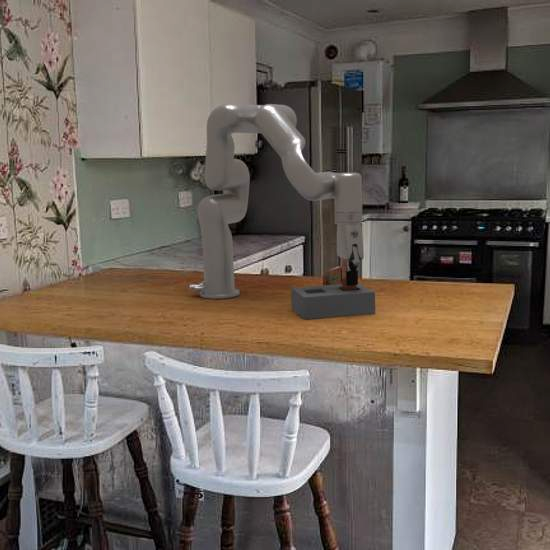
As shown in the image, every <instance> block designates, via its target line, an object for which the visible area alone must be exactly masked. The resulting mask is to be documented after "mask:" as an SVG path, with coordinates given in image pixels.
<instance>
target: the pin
mask: <svg viewBox="0 0 550 550" xmlns="http://www.w3.org/2000/svg"><path fill="white" fill-rule="evenodd" d="M349 260H353V257H351V258H350V259H349ZM351 263H352V262H350V265H351ZM346 271H347V260H345V259H343V258H342V291H351V290H357V285H351V286H347V285H346Z"/></svg>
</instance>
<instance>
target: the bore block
mask: <svg viewBox="0 0 550 550" xmlns="http://www.w3.org/2000/svg"><path fill="white" fill-rule="evenodd" d="M290 292H291V293H290V294H291V295H290V297H291V298H290V299H291V300H290V304H291V310H293V311H294V312H295V313H296V314H298V316H300V317H301V318H302V319H303V320H314V319H325V318H339V317H348V316H349V317H350V316H363V315H374V314H376V291H374V290H372V289H370V288H368V287H366V286H364V285H362V284H361V283H359V282H358V285H357V290H351V291H342V284H337V285H323V284H322V285H314V286H313V285H312V286H299V287H297V286H295V287H291V288H290Z"/></svg>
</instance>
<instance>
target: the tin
mask: <svg viewBox="0 0 550 550" xmlns="http://www.w3.org/2000/svg"><path fill="white" fill-rule="evenodd" d="M341 269H342V268H341V265H338V266H335V267H333V268H328V269H327V270H325V271H324V274H323V276H322V286H323V285H337V284H342V282H341Z"/></svg>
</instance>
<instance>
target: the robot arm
mask: <svg viewBox="0 0 550 550" xmlns="http://www.w3.org/2000/svg"><path fill="white" fill-rule="evenodd" d="M297 121H298V119H297V115H296V112H295V111H294V109H292V108H291V107H290V106H288V105H285V104H274V103H266V104H250V103H249V104H248V103H247V104H246V103H239V102H238V103H236V102H232V103H230V102H229V103H224V104H220V105H218V106H216V107H215V108H214V109H213V110H212V111H211V112H210V114H209V115H208V118H207V120H206V150H205V165H204V183H205V185H206V187H207V188H208V189H209V190H211V191H212V190H213V191H222V192H223V193H218V194H211V195H208V196H205V197H204V198H202V199H201V200H200V202H198V206H197V218H198V223H199V226H200V232H201V243H202V245H201V246H202V258H203V259H202V260H203V263H202V265H203V280H202V281H201V282H199V283H198V284H195V283H192V284H191V283H190V284H189V291H194V292H197V291H200V292H199V296H200V298H204V299H213V300H214V299H215V300H216V299H229V298H230V299H231V298H234V297H238V296H239V295H241V294H240V289H237V288H236V287H235V268H234V267H235V265H234V244H233V243H234V242H233V241H234V240H233V236H232V232H231V229H230V227H229V224H234V223H235V224H236V223H238V222H241V221H242V220H243V219H244V218H245V216H246V214H247V210H248V205H249V192H250V184H251V183H250V181H251V179H250V176H251V175H250V171H249V168H248V166H247V164H246V163H245V162H244V161H243V160H241V159H237V158H235V149H236V148H235V142H234V138H233V134H237V133H238V134H244V133H245V134H261V135H262V136H263V138H264V139H266V140H267V142H268V143H269V144H270V146H271V148H273V149H274V151H275V152H276V153H277V154H278V156H279V157H280V158H281V164H282V168H283V171H284V174H285V176H286V178H287V180H288V181H289V183H290V184H291V185H292V186H293V188H294V190H296V191H297V193H298V194H299V195H301V197H303V198H304V199H306V200H308V201H310V202H311V201H312V202H313V201H322V200H330V199H334V200H333V201H334V225H337V227H336V254H337V256H338V258H339V260H340V261H339V262H340V266H341V268H342V258H343V259H345V260H347V271H346V285H347V286H351V285H358V283H359V275H358V273H359V272H358V271H359V265H360V260H363V259H364V257H365V256H364V254H365V253H364V238H363V237H364V236H363V229H362V224H363V180H362V179H363V178H362V175H361V174H360V173H359V172H332V171H321V172H320V171H319V172H315V171H314V169H313V168H312V167H311V166H310V165H309V164H308V162H307V161H306V160H305V157H304V156H303V152H302V151H303V149H304V148H305V145H306V139H305V137H304V136H303V135H302V133H301V132H300V131H299V130H298V129H297V128H296V127H297V123H298V122H297ZM351 257H353V260H349V259H350V258H351ZM350 262H352V263H351V265H350ZM341 282H342V269H341Z"/></svg>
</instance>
